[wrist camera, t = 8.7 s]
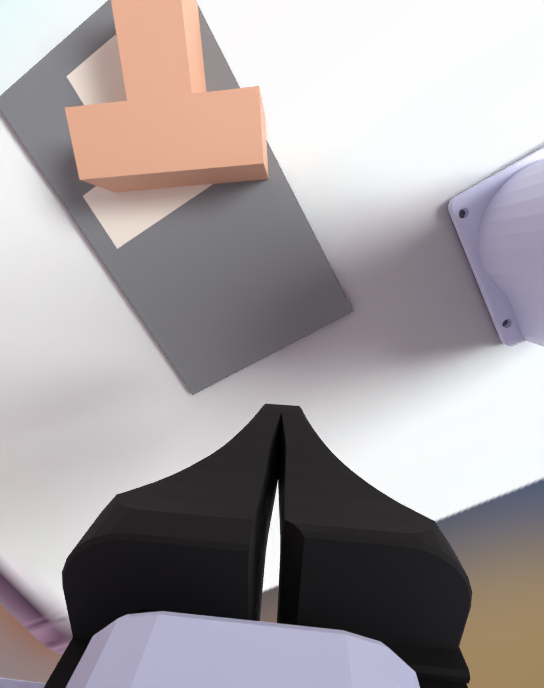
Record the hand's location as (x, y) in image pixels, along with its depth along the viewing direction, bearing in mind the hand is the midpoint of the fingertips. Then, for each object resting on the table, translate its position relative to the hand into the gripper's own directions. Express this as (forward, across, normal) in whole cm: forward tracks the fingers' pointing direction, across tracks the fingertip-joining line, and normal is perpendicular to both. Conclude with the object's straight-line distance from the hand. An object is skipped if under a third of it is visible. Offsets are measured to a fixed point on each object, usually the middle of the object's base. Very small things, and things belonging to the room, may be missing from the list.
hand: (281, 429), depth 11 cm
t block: (+9, +6, -14) cm, 18 cm away
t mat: (+9, +6, -8) cm, 14 cm away
